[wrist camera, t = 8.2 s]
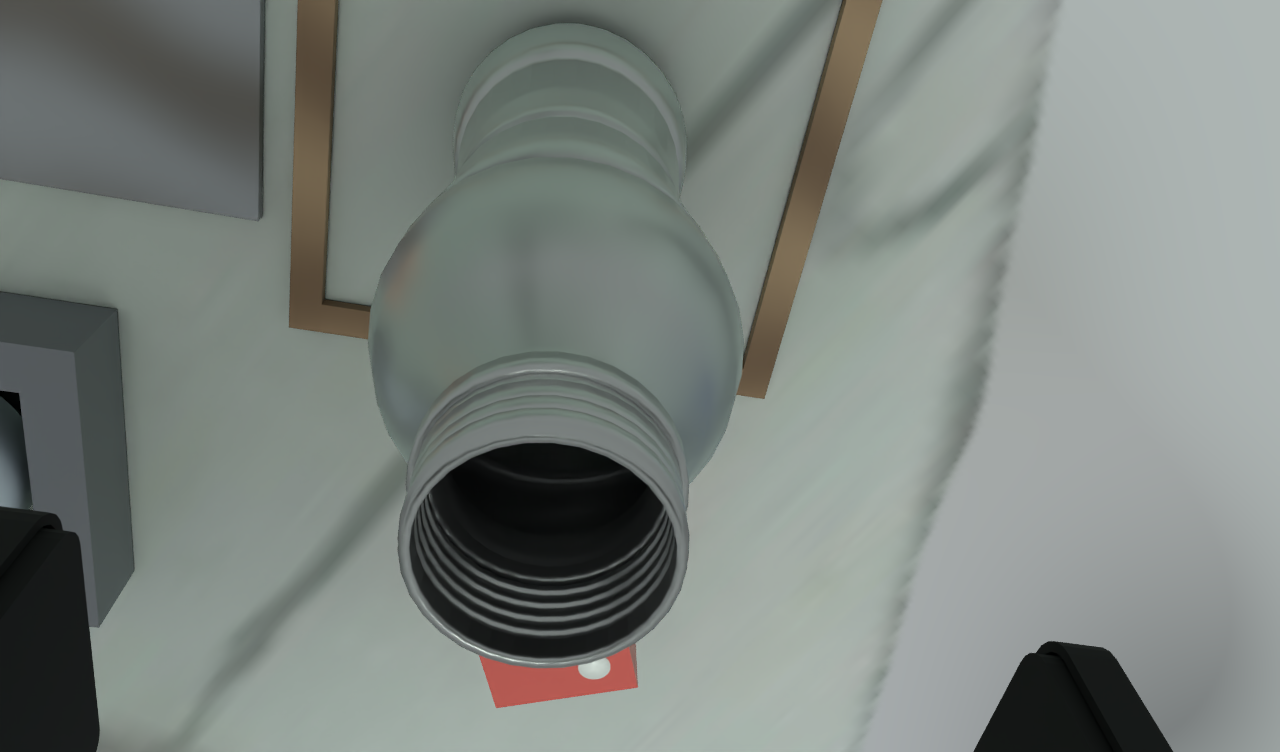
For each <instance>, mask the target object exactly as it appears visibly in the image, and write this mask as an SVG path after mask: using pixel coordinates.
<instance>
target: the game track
mask: <svg viewBox="0 0 1280 752" xmlns="http://www.w3.org/2000/svg"><path fill="white" fill-rule="evenodd" d="M881 3H882V0H843V2H842V6H841V9H840V13H839V16H838V20H837V23H836V27H835V31H834V34H833V38H832V41H831V45H830V49H829V52H828V56H827V59H826V63H825V67H824V70H823V74H822V77H821V81H820V85H819V88H818V92H817V95H816V99H815V103H814V106H813V110H812V113H811V117H810V120H809V124H808V128H807V131H806V135H805V138H804V142H803V146H802V149H801V153H800V156H799V160H798V164H797V167H796V171H795V174H794V178H793V182H792V185H791V189H790V192H789V196H788V200H787V203H786V207H785V210H784V214H783V217H782V221H781V225H780V228H779V232H778V235H777V239H776V243H775V246H774V250H773V253H772V257H771V261H770V264H769V268H768V271H767V275H766V279H765V282H764V286H763V289H762V293H761V297H760V300H759V304H758V307H757V311H756V315H755V318H754V322H753V325H752V329H751V332H750V336H749V340H748V343H747V347H746V350H745V354H744V358H743V364H742V376H741V379H740V383H739V386H738V390H737V394H736V395H742V396H748V397H755V398H762V399H764V398H765V395H766V391H767V388H768V385H769V381H770V378H771V374H772V371H773V368H774V364H775V361H776V358H777V354H778V351H779V347H780V344H781V341H782V337H783V334H784V331H785V327H786V324H787V320H788V317H789V314H790V310H791V307H792V304H793V300H794V297H795V294H796V290H797V287H798V283H799V280H800V277H801V273H802V270H803V267H804V263H805V260H806V256H807V253H808V250H809V246H810V243H811V240H812V236H813V233H814V229H815V226H816V223H817V219H818V216H819V213H820V209H821V206H822V202H823V199H824V196H825V192H826V189H827V186H828V182H829V179H830V175H831V172H832V169H833V165H834V162H835V159H836V155H837V152H838V148H839V145H840V142H841V138H842V135H843V132H844V128H845V125H846V122H847V118H848V115H849V111H850V108H851V105H852V101H853V98H854V95H855V91H856V88H857V84H858V81H859V78H860V74H861V71H862V68H863V64H864V61H865V57H866V54H867V51H868V47H869V44H870V41H871V37H872V34H873V30H874V27H875V24H876V20H877V17H878V14H879V10H880V7H881ZM264 7H265V0H0V179H4V180H10V181H16V182H22V183H28V184H34V185H40V186H47V187H53V188H59V189H65V190H71V191H77V192H83V193H89V194H95V195H102V196H108V197H114V198H120V199H126V200H132V201H138V202H144V203H150V204H157V205H163V206H169V207H175V208H181V209H187V210H193V211H199V212H205V213H212V214H218V215H224V216H230V217H236V218H242V219H248V220H254V221H259V220H260V218H261V217H262V176H263V92H264ZM337 20H338V0H298V13H297V50H296V86H295V123H294V160H293V197H292V234H291V271H290V308H289V327H290V328H297V329H303V330H310V331H317V332H323V333H330V334H336V335H343V336H350V337H356V338H363V339H368V335H369V321H370V309H371V306H364V305H358V304H351V303H345V302H338V301H332V300H325V282H326V260H327V238H328V216H329V195H330V173H331V151H332V129H333V107H334V85H335V64H336V42H337Z"/></svg>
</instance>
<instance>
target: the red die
mask: <svg viewBox="0 0 1280 752" xmlns="http://www.w3.org/2000/svg"><path fill="white" fill-rule="evenodd" d="M479 657H480V660H481V663H482V666H483V669H484V672H485V675H486V678H487V681H488V684H489V687H490V690H491V693H492V697H493V700H494V703H495V706H496V708H500V707H507V706H514V705H520V704H527V703H534V702H541V701H548V700H555V699H562V698H569V697H575V696H582V695H589V694H596V693H603V692H610V691H617V690H624V689H630V688H637V687H638V681H637V662H636V644H633V645H631V646H629V647H627V648H626V649H624V650H622V651H620V652H618V653H616V654H614V655H612V656H609V657H606V658H603V659H600V660H597V661H594V662H591V663H588V664H582V665H577V666H571V667H565V668H530V667H522V666H514V665H509V664H505V663H502V662H498V661H495V660H491V659H488V658H484V657H482V656H480V655H479Z"/></svg>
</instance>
